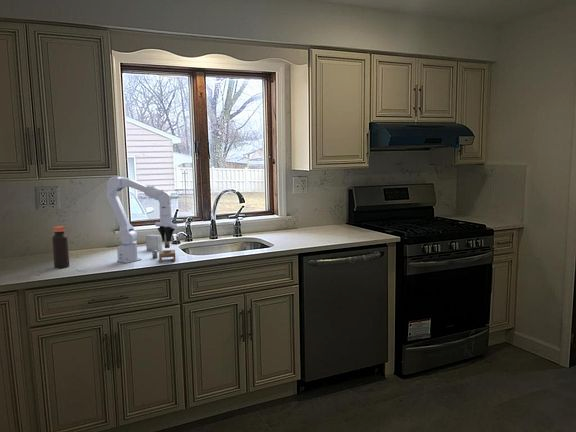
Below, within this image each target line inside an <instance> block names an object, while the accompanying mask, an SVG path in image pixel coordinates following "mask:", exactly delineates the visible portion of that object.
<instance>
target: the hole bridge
mask: <svg viewBox="0 0 576 432" xmlns="http://www.w3.org/2000/svg"><path fill="white" fill-rule="evenodd" d="M158 258H159V260H158V261H159V262H161V263H162V261H163V260H162V259H163V258H173V262H174V261H176V249H164V250H163V249H162V250H159V252H158Z"/></svg>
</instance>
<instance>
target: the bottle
mask: <svg viewBox="0 0 576 432" xmlns="http://www.w3.org/2000/svg"><path fill="white" fill-rule="evenodd" d="M65 229H66V226H65V225H63V226H62V225H59V226H53V233H54V235H53V236H52V237H51V241H52V254H53V267H54V269H64V268H65V269H66V268H69V267H70V256H69V239H68V236H67V234H65V231H66V230H65Z"/></svg>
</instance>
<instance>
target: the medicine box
mask: <svg viewBox="0 0 576 432" xmlns="http://www.w3.org/2000/svg"><path fill="white" fill-rule="evenodd" d="M145 242H146V245H145V246H146V247H145V248H146V251H153V250H157V252H158V251H160V250H163V240H162V237H161V234H147V235H145Z"/></svg>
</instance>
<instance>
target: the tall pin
mask: <svg viewBox="0 0 576 432" xmlns="http://www.w3.org/2000/svg"><path fill="white" fill-rule="evenodd" d="M163 242H164V248H165V249H169V248H170V247H171V244H170V243H171V241H169V242H167V241H166V234H165V232H164V241H163Z"/></svg>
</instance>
